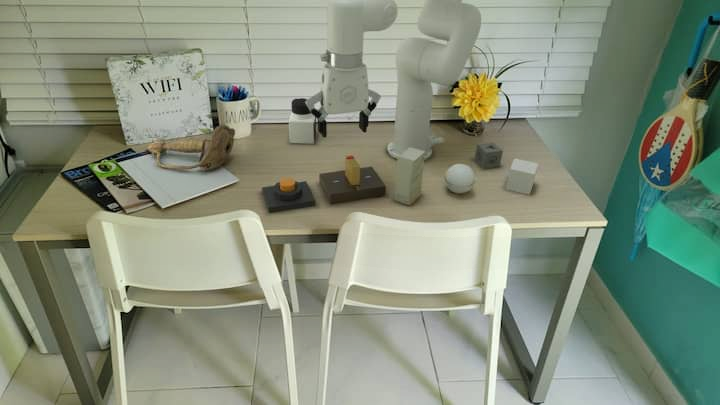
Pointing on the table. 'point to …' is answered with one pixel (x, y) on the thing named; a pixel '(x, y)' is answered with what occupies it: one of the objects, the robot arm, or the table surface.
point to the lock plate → (343, 191)
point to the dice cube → (488, 155)
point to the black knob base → (288, 197)
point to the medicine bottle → (302, 123)
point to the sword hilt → (199, 149)
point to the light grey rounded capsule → (460, 178)
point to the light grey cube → (521, 176)
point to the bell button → (287, 185)
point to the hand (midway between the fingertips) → (343, 132)
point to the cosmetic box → (409, 175)
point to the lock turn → (352, 170)
